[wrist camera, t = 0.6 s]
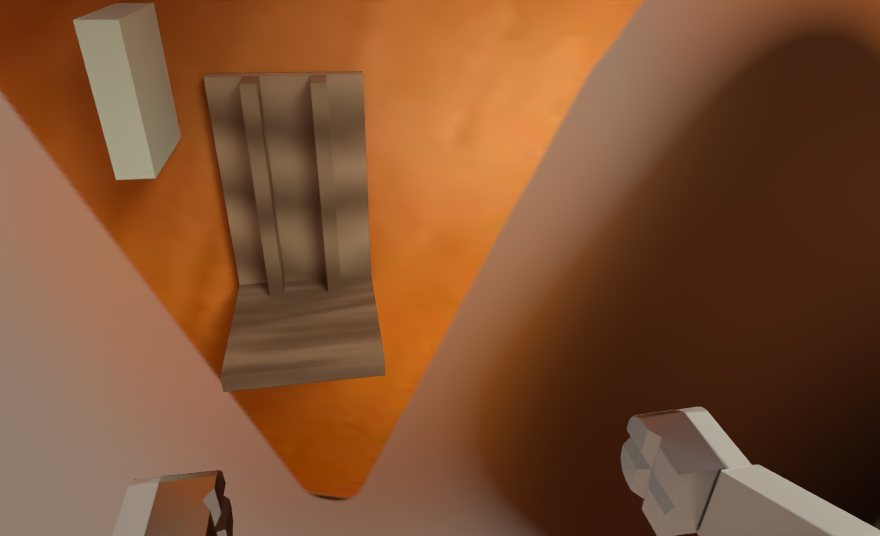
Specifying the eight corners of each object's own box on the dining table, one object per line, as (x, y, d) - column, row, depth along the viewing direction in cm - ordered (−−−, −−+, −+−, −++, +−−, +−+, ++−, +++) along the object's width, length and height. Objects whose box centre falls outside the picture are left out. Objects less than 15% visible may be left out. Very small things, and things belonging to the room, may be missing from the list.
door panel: (116, 2, 42) (72, 19, 34) (153, 2, 42) (118, 19, 35) (148, 138, 47) (116, 180, 39) (181, 137, 47) (155, 178, 40)
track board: (205, 73, 45) (166, 126, 33) (361, 71, 47) (377, 120, 35) (243, 291, 55) (223, 391, 43) (370, 282, 57) (385, 375, 45)
